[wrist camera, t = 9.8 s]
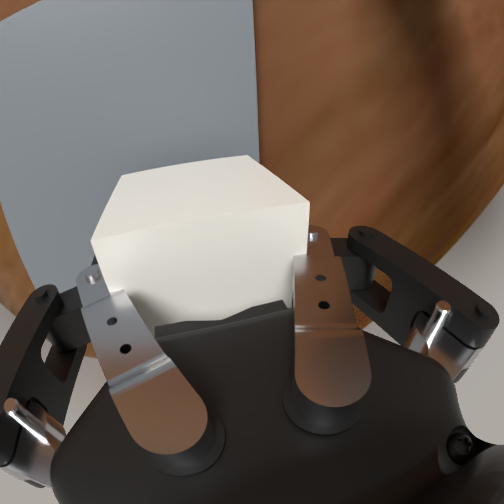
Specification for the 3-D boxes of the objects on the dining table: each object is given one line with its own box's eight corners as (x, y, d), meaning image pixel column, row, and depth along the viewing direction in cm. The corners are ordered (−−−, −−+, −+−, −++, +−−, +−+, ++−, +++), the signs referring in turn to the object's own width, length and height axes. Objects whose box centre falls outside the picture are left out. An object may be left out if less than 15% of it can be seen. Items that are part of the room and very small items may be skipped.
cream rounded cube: (247, 154, 12) (309, 201, 7) (252, 260, 15) (297, 343, 10) (121, 175, 11) (90, 241, 6) (147, 280, 14) (150, 376, 9)
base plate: (242, -25, 9) (250, -35, 8) (255, 251, 19) (262, 263, 18) (-6, 35, 6) (-18, 32, 5) (49, 290, 16) (43, 304, 15)
